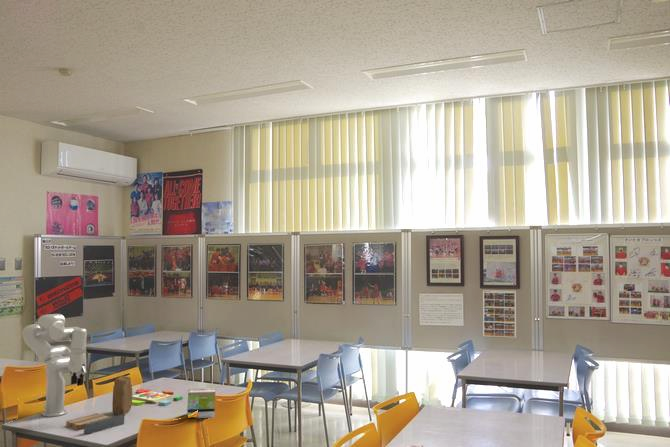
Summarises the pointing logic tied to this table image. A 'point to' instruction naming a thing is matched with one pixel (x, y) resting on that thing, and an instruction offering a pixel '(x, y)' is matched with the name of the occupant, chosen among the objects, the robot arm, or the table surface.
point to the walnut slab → (83, 421)
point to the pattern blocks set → (153, 397)
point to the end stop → (103, 423)
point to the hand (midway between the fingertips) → (76, 384)
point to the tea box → (201, 402)
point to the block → (122, 395)
